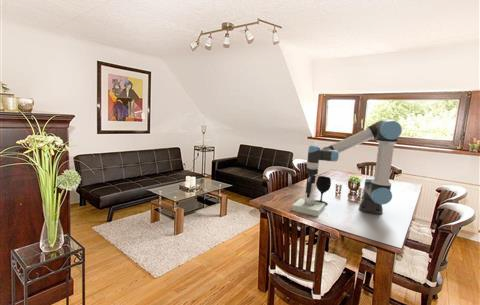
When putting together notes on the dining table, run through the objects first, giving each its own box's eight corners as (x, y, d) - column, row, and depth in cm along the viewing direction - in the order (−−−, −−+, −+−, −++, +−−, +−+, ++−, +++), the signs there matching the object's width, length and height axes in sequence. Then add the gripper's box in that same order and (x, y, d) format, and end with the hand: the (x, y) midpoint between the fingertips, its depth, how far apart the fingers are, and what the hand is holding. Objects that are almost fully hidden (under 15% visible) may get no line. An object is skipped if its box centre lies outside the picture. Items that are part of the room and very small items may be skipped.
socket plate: (324, 208, 185) (325, 203, 185) (318, 216, 170) (318, 210, 169) (300, 203, 194) (300, 198, 194) (291, 210, 179) (292, 204, 178)
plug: (313, 205, 183) (315, 183, 180) (311, 207, 178) (313, 185, 176) (306, 204, 185) (308, 182, 183) (304, 206, 181) (306, 183, 178)
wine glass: (315, 204, 191) (319, 178, 188) (312, 200, 202) (315, 175, 198) (329, 206, 191) (333, 180, 188) (325, 201, 201) (329, 176, 198)
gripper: (310, 165, 187) (307, 196, 191) (302, 169, 172) (299, 203, 175) (321, 167, 183) (317, 198, 187) (314, 171, 168) (310, 205, 172)
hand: (309, 200), depth 181 cm, fingers closed on plug, 5 cm apart
